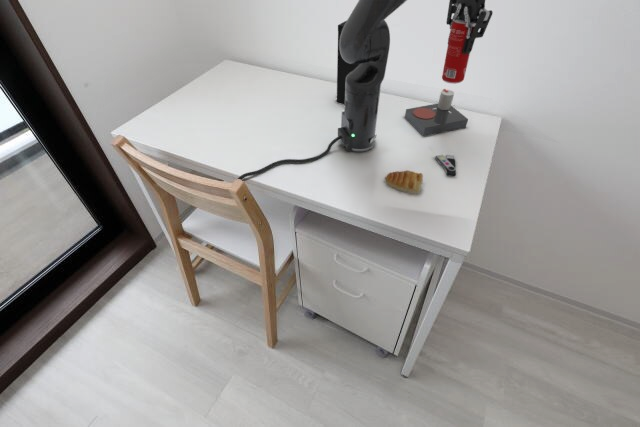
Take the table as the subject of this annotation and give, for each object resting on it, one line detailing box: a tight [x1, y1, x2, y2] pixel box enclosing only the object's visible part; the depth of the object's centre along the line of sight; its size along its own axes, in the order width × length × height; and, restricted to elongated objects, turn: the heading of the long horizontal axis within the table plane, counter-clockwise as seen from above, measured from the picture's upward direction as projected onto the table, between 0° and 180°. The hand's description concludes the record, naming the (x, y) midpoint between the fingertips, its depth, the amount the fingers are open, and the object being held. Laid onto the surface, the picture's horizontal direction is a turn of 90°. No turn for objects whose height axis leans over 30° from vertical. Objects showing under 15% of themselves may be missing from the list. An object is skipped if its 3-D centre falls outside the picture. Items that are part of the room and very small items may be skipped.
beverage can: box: [441, 18, 475, 85], centre depth 88 cm, size 6×6×15 cm
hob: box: [404, 100, 469, 137], centre depth 108 cm, size 16×13×3 cm
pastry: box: [384, 169, 424, 195], centre depth 86 cm, size 9×7×4 cm
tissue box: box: [336, 20, 359, 105], centre depth 110 cm, size 8×8×28 cm
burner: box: [413, 108, 435, 119], centre depth 107 cm, size 7×7×1 cm
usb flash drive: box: [434, 154, 457, 177], centre depth 92 cm, size 9×5×1 cm, turn 166°
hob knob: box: [437, 88, 455, 110], centre depth 107 cm, size 4×4×5 cm
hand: (458, 48), depth 88 cm, fingers closed on beverage can, 5 cm apart
